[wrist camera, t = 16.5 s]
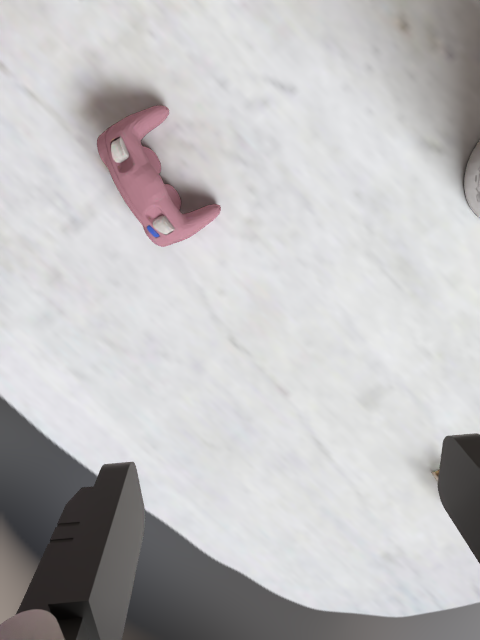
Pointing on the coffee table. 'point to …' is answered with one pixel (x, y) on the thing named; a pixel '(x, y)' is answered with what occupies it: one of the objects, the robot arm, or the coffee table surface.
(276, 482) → the coffee table surface
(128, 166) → the video game controller
